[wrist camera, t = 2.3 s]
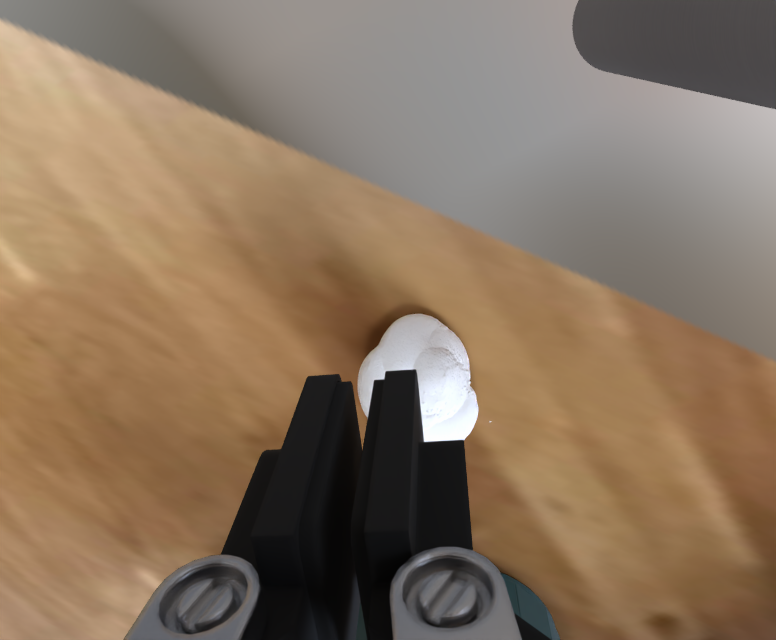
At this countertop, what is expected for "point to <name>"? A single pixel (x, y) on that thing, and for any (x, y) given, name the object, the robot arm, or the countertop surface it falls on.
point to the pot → (522, 605)
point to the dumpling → (426, 374)
